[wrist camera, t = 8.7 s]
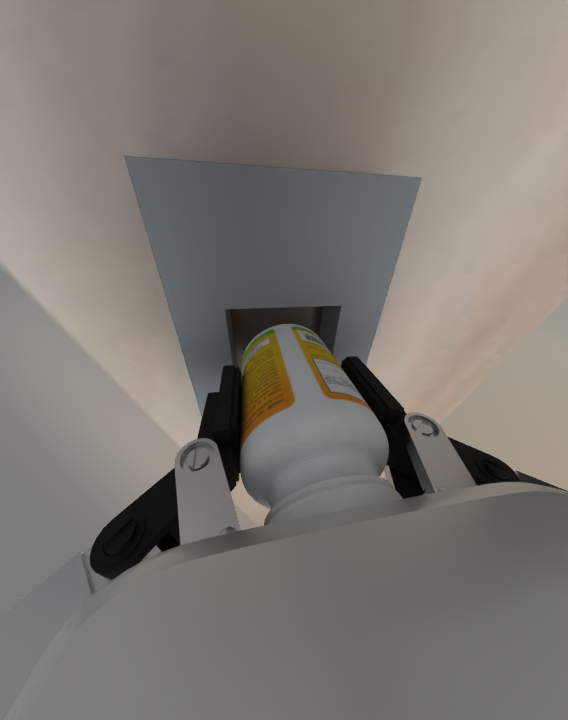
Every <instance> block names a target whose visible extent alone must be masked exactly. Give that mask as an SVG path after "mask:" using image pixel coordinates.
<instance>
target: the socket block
mask: <svg viewBox="0 0 568 720" xmlns="http://www.w3.org/2000/svg"><path fill="white" fill-rule="evenodd" d="M124 157H125V160H126V164H127V167H128V170H129V174H130V177H131V180H132V184H133V187H134V190H135V194H136V197H137V200H138V204H139V207H140V211H141V214H142V217H143V221H144V224H145V227H146V231H147V234H148V237H149V241H150V244H151V248H152V251H153V254H154V258H155V261H156V264H157V268H158V271H159V274H160V278H161V281H162V284H163V288H164V291H165V295H166V298H167V301H168V305H169V308H170V311H171V315H172V318H173V321H174V325H175V328H176V332H177V335H178V338H179V342H180V345H181V348H182V352H183V355H184V358H185V362H186V365H187V368H188V372H189V375H190V379H191V382H192V385H193V389H194V392H195V395H196V399H197V402H198V405H199V409H200V412H201V416H203V412H204V408H205V403H206V399H207V395H208V393H211V392H219V389H220V383H221V376H222V370H223V366H226V365H235V368H237V367H238V364H237V357H236V349H235V341H234V333H233V325H232V317H231V310H230V309H253V308H285V307H317V306H323V308H322V316H321V324H320V331H319V338H320V339H321V340H322V341H323V342H324V344H325V345H326V347H327V348H328V349H329V351H330V352H331V354H332V355H333V356H334V358H335V359H336V361H337V362H338V363H339V365H340V366H341V363H342V360H345V358H346V357H351V356H357V357H358V358H359V359H360V360H361V361H362V362H363V363H364V364H365V365H366V363H367V359H368V356H369V353H370V349H371V346H372V343H373V339H374V336H375V333H376V329H377V326H378V323H379V319H380V316H381V313H382V309H383V306H384V302H385V299H386V296H387V292H388V289H389V286H390V282H391V279H392V276H393V272H394V269H395V266H396V262H397V259H398V256H399V252H400V249H401V246H402V242H403V239H404V235H405V232H406V229H407V225H408V222H409V219H410V215H411V212H412V209H413V205H414V202H415V199H416V195H417V192H418V189H419V185H420V182H421V179H422V178H420V177H406V176H392V175H379V174H365V173H351V172H338V171H324V170H310V169H296V168H283V167H269V166H255V165H242V164H228V163H214V162H201V161H187V160H173V159H159V158H146V157H132V156H124ZM240 379H241V381H242V374H240Z"/></svg>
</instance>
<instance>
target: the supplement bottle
mask: <svg viewBox="0 0 568 720" xmlns="http://www.w3.org/2000/svg"><path fill="white" fill-rule="evenodd" d="M388 455H389V444H388V439H387V436H386V433H385V431H384V429H383V427H382V425H381V424H380V422H379V421H378V419H377V417H376V416H375V414H374V413H373V411H372V410H371V409H370V407H369V406H368V404H367V403H366V402H365V400H364V399H363V397H362V396H361V395H360V393H359V392H358V390H357V389H356V388H355V386H354V385H353V383H352V382H351V381H350V379H349V378H348V376H347V375H346V373H345V372H344V371H343V369H342V368H341V366H340V365H339V363H338V362H337V361H336V359H335V358H334V356H333V355H332V354H331V352H330V351H329V349H328V348H327V347H326V345H325V344H324V342H323V341H322V340H321V339H320V338H319V336H318V335H317V334H316V333H314V332H313V331H312V330H310V329H308V328H306V327H304V326H300V325H296V324H281V325H276V326H273V327H270V328H268V329H266V330H264V331H262V332H261V333H259V334H258V335H257V336H256V337H254V338H253V339H252V340H251V342H250V343H249V344H248V346H247V348H246V350H245V352H244V355H243V360H242V381H241V421H240V472H241V478H242V482H243V484H244V487H245V489H246V490H247V492H248V493H249V495H250V496H251V497H252V498H253V499H254V500H256V501H257V502H258V503H260V504H261V505H263V506H265V507H267V508H269V509H271V510H270V512H269V513H268V515H267V517H266V519H265V522H264V526H266V525H271V524H276V523H281V522H286V521H291V520H296V519H301V518H306V517H311V516H316V515H322V514H327V513H332V512H337V511H342V510H347V509H353V508H358V507H363V506H368V505H373V504H379V503H384V502H389V501H394V500H400V499H402V497H401V495H400V494H399V493H398V492H397V491H396V490H394V487H393V486H392V484H391V483H390V482H388V481H387V480H385V479H384V478H381V477H379V476H380V475H381V473H382V472H383V470H384V468H385V466H386V464H387V460H388Z"/></svg>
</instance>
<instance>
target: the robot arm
mask: <svg viewBox="0 0 568 720" xmlns="http://www.w3.org/2000/svg"><path fill="white" fill-rule="evenodd" d="M341 368H342V369H343V371H344V372H345V373H346V375H347V376H348V378H349V379H350V381H351V382H352V383H353V385H354V386H355V388H356V389H357V390H358V392H359V393H360V395H361V396H362V397H363V399H364V400H365V402H366V403H367V404H368V406H369V407H370V409H371V410H372V411H373V413H374V414H375V416H376V417H377V419H378V421H379V422H380V424H381V425H382V427H383V429H384V431H385V433H386V436H387V439H388V444H389V455H388V460H387V464H386V466H385V468H384V471H385V475H386V479H387V481H388V482H390V483H391V484H392V486H393V487H394V490H396V491H397V492H398V493H399V494H400V495H401V497H402V499H400V500H394V501H389V502H384V503H379V504H373V505H368V506H363V507H358V508H353V509H347V510H342V511H337V512H332V513H327V514H322V515H316V516H311V517H306V518H301V519H296V520H291V521H286V522H281V523H276V524H271V525H266V526H261V527H256V528H251V529H246V530H242V531H241V529H240V525H239V521H238V518H237V514H236V511H235V507H234V504H233V500H232V496H231V493H230V492H231V491H232V490H233V489H234V488H235V486H236V481H239V473H241V472H240V421H241V379H240V371H239V367H237V368H235V365H226V366H223V370H222V376H221V383H220V389H219V392H211V393H208V395H207V399H206V403H205V408H204V412H203V416H202V421H201V425H200V429H199V434H198V438H197V439H196V440H193V441H191V442H189V443H187V444H186V445H185V446H184V447H182V449H181V450H180V451H179V452H178V454H177V456H176V459H175V468H174V469H173V470H171V471H170V472H169V473H168V474H167V475H166V476H164V477H163V478H162V479H160V480H159V481H158V482H157V483H156V484H154V485H153V486H152V487H151V488H150V489H148V490H147V491H146V492H145V493H144V494H142V495H141V496H140V497H139V498H138V499H136V500H135V501H134V502H133V503H132V504H130V505H129V506H128V507H127V508H126V509H124V511H122V512H121V513H120V514H118V515H117V516H116V517H115V518H114V519H112V520H111V521H110V523H108V524H107V526H106V527H104V528H103V530H102V531H101V533H100V534H99V535H98V537H97V538H96V540H95V542H94V544H93V546H92V547H91V548H89V549H88V550H87V551H86V552H84V553H81V552H79V553H77V554H76V555H75V556H74V557H72V558H71V559H70V560H69V561H67V562H66V563H65V564H64V565H62V566H61V567H60V568H59V569H57V570H56V571H55V572H53V573H52V574H51V575H50V576H48V578H46V579H45V580H44V581H42V582H41V583H40V584H38V585H37V586H36V587H35V588H33V589H32V590H31V591H30V592H28V593H27V594H26V595H25V596H23V597H22V598H21V599H19V600H18V601H17V602H16V603H14V604H13V605H12V606H11V607H9V609H7V610H6V611H4V612H3V613H2V614H1V615H0V720H568V491H566V490H564V489H561V488H558V487H556V486H554V485H551V484H549V483H546V482H544V481H541V480H539V479H536V478H534V477H531V476H529V475H526V474H524V473H521V472H519V471H515V472H514V471H513V470H512V469H511V468H510V467H509V466H508V465H507V464H505V463H504V462H502V461H501V460H499V459H497V458H495V457H493V456H491V455H489V454H487V453H484V452H482V451H479V450H477V449H475V448H473V447H470V446H468V445H466V444H463V443H461V442H459V441H456V440H453V439H452V438H449V437H447V435H446V434H445V432H444V431H443V429H442V427H441V426H440V425H439V424H438V423H437V422H436V421H435V420H434V419H432V418H430V417H429V416H426V415H424V414H421V413H408V414H406V413H405V412H404V408H403V407H402V406H401V405H400V403H399V402H398V401H397V400H396V399H395V398H394V397H393V396H392V395H391V393H390V392H389V391H388V390H387V389H386V388H385V387H384V386H383V384H382V383H381V382H380V381H379V380H378V379H377V378H376V377H375V376H374V374H373V373H372V372H371V371H370V370H369V369H368V368H367V367H366V365H365V364H364V363H363V362H362V361H361V360H360V359H359V358H358V357H357V356H351V357H346V358H345V360H342V363H341Z"/></svg>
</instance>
